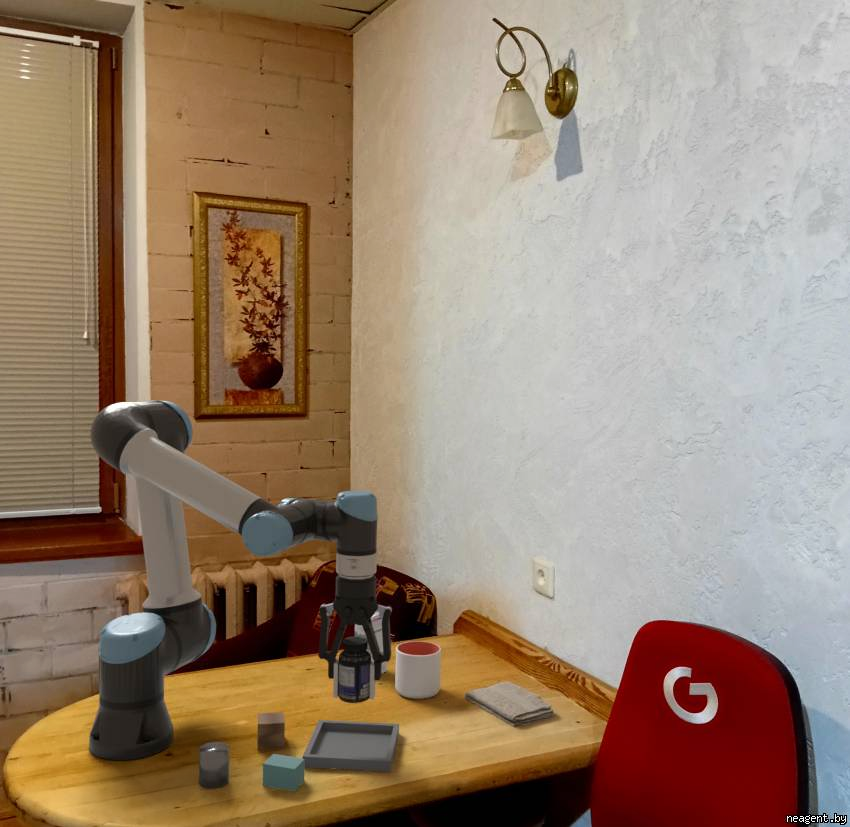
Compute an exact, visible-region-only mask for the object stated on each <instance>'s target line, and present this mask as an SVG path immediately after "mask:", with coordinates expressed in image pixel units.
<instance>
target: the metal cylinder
mask: <svg viewBox="0 0 850 827" xmlns="http://www.w3.org/2000/svg"><path fill="white" fill-rule="evenodd" d="M198 753H199V754H198V755H199V757H198V759H199V760H198V766H199V768H198V781H199V782H198V785H199V786H200V787H201V788H203V789H206V790H216V789H221V788H223V787H225V786H227V785H228V784H229V782H230V745H229V744H228V743H226V742H222V741H212V742H207V743H205V744H203V745H201V746H200V747H199V752H198Z"/></svg>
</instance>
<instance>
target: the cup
mask: <svg viewBox="0 0 850 827" xmlns="http://www.w3.org/2000/svg"><path fill="white" fill-rule="evenodd" d="M441 654H442V649H441V646H439V645H438V644H436V643H433V642H429V641H422V640H421V641H419V640H418V641H417V640H413V641H405V642H401V643H399V644H398V645H397V646H396V647H395V671H394V672H395V673H394V674H395V680H394V684H395V685H394V686H395V687H394V688H395V690H396V692H397V693H398V694H399V695H400V696H402V697H405V698H408V699H414V700H425V699H428V698H432V697H434V696H436V695H438V693H439V692H440V688H441V665H442V664H441V659H442V655H441ZM424 698H425V699H424Z"/></svg>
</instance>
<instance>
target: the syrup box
mask: <svg viewBox="0 0 850 827" xmlns="http://www.w3.org/2000/svg"><path fill="white" fill-rule="evenodd" d="M371 621H372V626H373V629H374V633H375V636H376V639H377V642H378V646H379V649H380V652H381V654H382V653H383V638H382V618H380V617H379V612H378V611H376V612H375V613H374V615H373V616H372V617H371ZM354 637H363V638H366V639H367V637H366V634H365V631H364V630H363V626H362V625H356V624H354ZM366 651H368V652H369V653H370V655H371V661H372V660H373V657H372V654H371V651H370V647H369V644H368V647H367V649H366ZM387 670H388V662H386V661H385V662H383V663H382V667H381V673H382V674H384V672H385V673H387V672H388V671H387Z"/></svg>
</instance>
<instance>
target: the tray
mask: <svg viewBox="0 0 850 827" xmlns="http://www.w3.org/2000/svg"><path fill="white" fill-rule="evenodd" d="M399 737H400V724H399V723H388V722H387V723H386V722H369V721H368V722H367V721H352V720H351V721H348V720H330V719H328V720H327V719H318V722H317V724H316V726H315V728H314V730H313V732H312V735H311V736H310V739H309V741H308V743H307V746H306V747H305V749H304V752H303V754H302V757H301V758H302V759H305V768H307V767H311V768H310V769H326V768H335V769H334V770H344V769H351V770H350V771H362V770H363V771H366V772H383V773H391V772H392V768H393V767H392V766H393V763H394V759H395V758H394V757H395V755H396V754H395V753H396V749H397V744H398V741H399ZM313 767H314V768H313ZM353 769H354V770H353Z"/></svg>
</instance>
